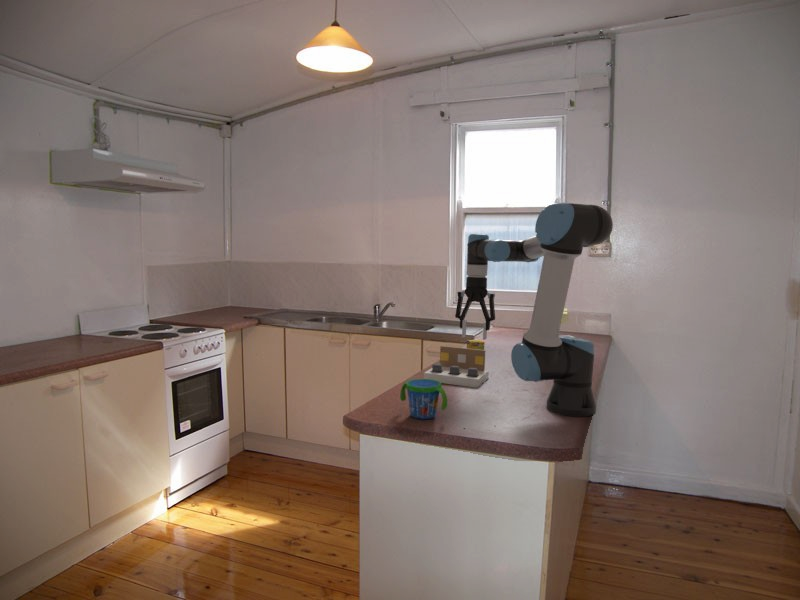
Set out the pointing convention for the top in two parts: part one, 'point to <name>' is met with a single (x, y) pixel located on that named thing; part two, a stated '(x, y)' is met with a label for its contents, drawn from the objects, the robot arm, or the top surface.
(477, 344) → the supplement box
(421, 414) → the snack cup
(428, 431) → the top surface
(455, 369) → the button middle
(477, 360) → the button panel
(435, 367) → the button left
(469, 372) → the button right
